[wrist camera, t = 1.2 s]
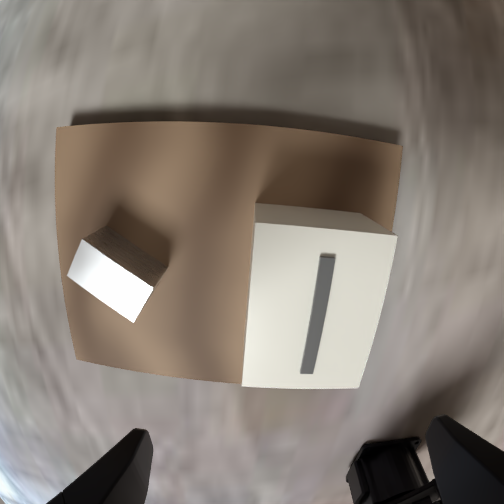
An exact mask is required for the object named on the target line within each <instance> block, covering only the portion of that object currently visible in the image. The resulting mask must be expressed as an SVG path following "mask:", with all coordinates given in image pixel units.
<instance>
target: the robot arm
mask: <svg viewBox="0 0 504 504" xmlns="http://www.w3.org/2000/svg"><path fill="white" fill-rule="evenodd" d="M426 442H427V447H428V451H429V455H430V460H431V464H432V469H433V473H434V476H435V478H434V479H433V480H432V481H431V482H429V480H428V478H427V476H426V473H425V471H424V469H423V467H422V464H421V462H420V460H419V458H418V455H417V453H416V449H417V447H418V446H419V444H420V443H421V439H420V437H415V438H409V439H403V440H396V441H389V442H381V443H373V444H366V445H364V446H362V448H361V450H360V452H359V454H358V456H357V458H356V460H355V461H354V462H353V464H352V466H351V468H350V470H349V472H348V474H347V477H346V482H348V483H349V486H350V491H351V495H352V499H353V503H354V504H504V451H502V450H500V449H499V448H497V447H496V446H494V445H492V444H491V443H489V442H488V441H486V440H485V439H483V438H481V437H480V436H478V435H477V434H475V433H474V432H472V431H470V430H469V429H467V428H466V427H464V426H463V425H461V424H460V423H458V422H456V421H455V420H453V419H452V418H450V417H449V416H447V415H439V416H435V417H434V418H433V419H432V421H431V423H430V426H429V428H428V430H427V432H426ZM152 456H153V444H152V441H151V438H150V435H149V432H148V431H147V430H145V429H139V428H135V429H133V430H132V431H130V432H129V433H128V434H127V435H126V436H125V437H124V438H123V439H122V440H120V441H119V442H118V443H117V444H116V445H115V446H114V447H113V448H112V449H110V450H109V451H108V452H107V453H106V454H105V455H104V456H102V457H101V458H100V459H99V460H98V461H97V462H96V463H94V464H93V465H92V466H91V467H90V468H89V469H87V470H86V471H85V472H84V473H83V474H82V475H80V476H79V477H78V478H77V479H76V480H75V481H73V482H72V483H71V484H70V485H69V486H67V487H66V488H65V489H64V490H63V492H60V493H59V494H58V495H57V496H55V497H54V498H53V499H51V500H50V501H49V502H48V503H46V504H144V503H145V499H146V495H147V491H148V485H149V477H150V470H151V463H152ZM437 499H439V501H435V500H437ZM433 501H435V502H433ZM432 502H433V503H432Z"/></svg>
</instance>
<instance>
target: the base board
mask: <svg viewBox="0 0 504 504" xmlns="http://www.w3.org/2000/svg"><path fill="white" fill-rule="evenodd" d="M402 149H403V146H400V145H395V144H391V143H386V142H380V141H375V140H370V139H364V138H358V137H352V136H346V135H340V134H333V133H326V132H319V131H311V130H303V129H295V128H285V127H275V126H264V125H252V124H237V123H218V122H183V121H154V122H120V123H102V124H87V125H76V126H65V127H57V129H56V149H55V206H56V226H57V240H58V251H59V261H60V270H61V278H62V285H63V292H64V298H65V305H66V310H67V316H68V321H69V327H70V332H71V337H72V341H73V346H74V350H75V355H76V359H77V360H82V361H86V362H91V363H95V364H100V365H105V366H110V367H115V368H121V369H126V370H132V371H138V372H144V373H150V374H156V375H163V376H170V377H178V378H186V379H195V380H204V381H214V382H225V383H237V384H242V372H243V352H244V333H245V320H246V308H247V295H248V283H249V270H250V258H251V246H252V233H253V221H254V209H255V203H262V204H274V205H286V206H297V207H307V208H317V209H327V210H336V211H346V212H354V213H361V214H363V215H364V216H366V217H368V218H369V219H371V220H373V221H374V222H376V223H378V224H379V225H381V226H383V227H384V228H386V229H387V230H389V231H391V232H392V227H393V220H394V214H395V207H396V201H397V193H398V186H399V178H400V169H401V159H402ZM104 226H108V227H109V228H111V229H112V230H114V231H115V232H117V233H118V234H119V235H121V236H122V237H124V238H125V239H127V240H128V241H130V242H131V243H133V244H134V245H136V246H137V247H139V248H140V249H141V250H143V251H144V252H146V253H147V254H149V255H150V256H152V257H153V258H155V259H156V260H158V261H160V262H161V263H163V264H164V265H166V266H167V267H168V268H167V270H166V272H165V273H164V275H163V277H162V278H161V280H160V282H159V283H158V285H157V287H156V288H155V290H154V292H153V293H152V295H151V297H150V298H149V300H148V301H147V303H146V304H145V306H144V307H143V309H142V310H141V312H140V313H139V315H138V316H137V318H136V320H135V321H134V322H132V321H131V320H129V319H128V318H126V317H125V316H123V315H122V314H120V313H119V312H117V311H116V310H114V309H113V308H111V307H110V306H108V305H107V304H105V303H104V302H103V301H101V300H100V299H98V298H97V297H95V296H94V295H93V294H91V293H90V292H88V291H87V290H86V289H84V288H83V287H81V286H80V285H79V284H77V283H76V282H75V281H73V280H72V279H71V278H69V277H68V276H67V274H68V272H69V269H70V267H71V264H72V262H73V259H74V257H75V254H76V252H77V250H78V247H79V245H80V243H81V240H82V239H83V238H85V237H86V236H88V235H90V234H92V233H94V232H95V231H97V230H99V229H101V228H103V227H104Z"/></svg>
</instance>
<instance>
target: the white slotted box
mask: <svg viewBox="0 0 504 504" xmlns="http://www.w3.org/2000/svg"><path fill="white" fill-rule="evenodd" d="M397 237H398V236H397V235H396V234H394V233H392V232H391V231H389V230H387V229H386V228H384V227H383V226H381V225H379V224H378V223H376V222H374V221H373V220H371V219H369V218H368V217H366V216H364V215H363V214H361V213H354V212H346V211H336V210H327V209H317V208H307V207H297V206H286V205H274V204H262V203H255V209H254V221H253V233H252V246H251V258H250V270H249V283H248V295H247V308H246V320H245V333H244V352H243V372H242V386H245V387H263V388H289V389H343V388H359V385H360V382H361V379H362V376H363V373H364V370H365V366H366V363H367V360H368V357H369V353H370V350H371V347H372V343H373V340H374V336H375V333H376V329H377V326H378V322H379V318H380V314H381V310H382V306H383V302H384V298H385V294H386V290H387V286H388V281H389V277H390V272H391V267H392V263H393V258H394V253H395V247H396V242H397Z"/></svg>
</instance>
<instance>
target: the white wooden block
mask: <svg viewBox="0 0 504 504" xmlns="http://www.w3.org/2000/svg"><path fill="white" fill-rule="evenodd" d="M167 268H168V267H167V266H166V265H164V264H163V263H161V262H160V261H158V260H156V259H155V258H153V257H152V256H150V255H149V254H147V253H146V252H144V251H143V250H141V249H140V248H139V247H137V246H136V245H134V244H133V243H131V242H130V241H128V240H127V239H125V238H124V237H122V236H121V235H119V234H118V233H117V232H115V231H114V230H112V229H111V228H109V227H108V226H104V227H103V228H101V229H99V230H97V231H95V232H94V233H92V234H90V235H88V236H86V237H85V238H83V239H82V240H81V243H80V245H79V247H78V250H77V252H76V254H75V257H74V259H73V262H72V264H71V267H70V269H69V272H68V274H67V276H68V277H69V278H71V279H72V280H73V281H75V282H76V283H77V284H79V285H80V286H81V287H83V288H84V289H86V290H87V291H88V292H90V293H91V294H93V295H94V296H95V297H97V298H98V299H100V300H101V301H103V302H104V303H105V304H107V305H108V306H110V307H111V308H113V309H114V310H116V311H117V312H119V313H120V314H122V315H123V316H125V317H126V318H128V319H129V320H131V321H132V322H134V321H135V320H136V318H137V316H138V315H139V313H140V312H141V310H142V309H143V307H144V306H145V304H146V303H147V301H148V300H149V298H150V297H151V295H152V293H153V292H154V290H155V288H156V287H157V285H158V283H159V282H160V280H161V278H162V277H163V275H164V273H165V272H166V270H167Z"/></svg>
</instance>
